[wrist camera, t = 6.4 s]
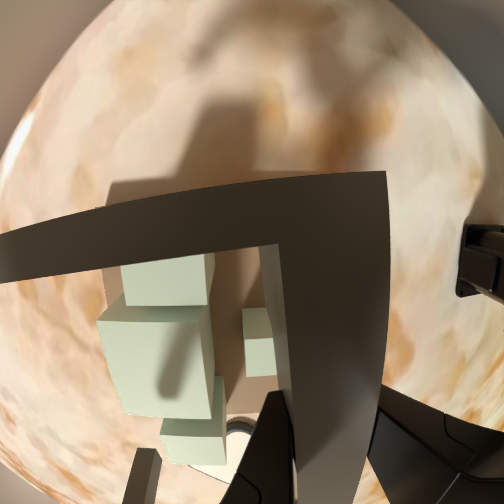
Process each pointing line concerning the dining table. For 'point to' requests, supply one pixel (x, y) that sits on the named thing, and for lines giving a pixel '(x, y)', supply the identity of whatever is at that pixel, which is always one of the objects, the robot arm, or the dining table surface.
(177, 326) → the green blocks on base
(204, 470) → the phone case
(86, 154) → the dining table surface
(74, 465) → the dining table surface
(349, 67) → the dining table surface
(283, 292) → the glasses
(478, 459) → the robot arm
